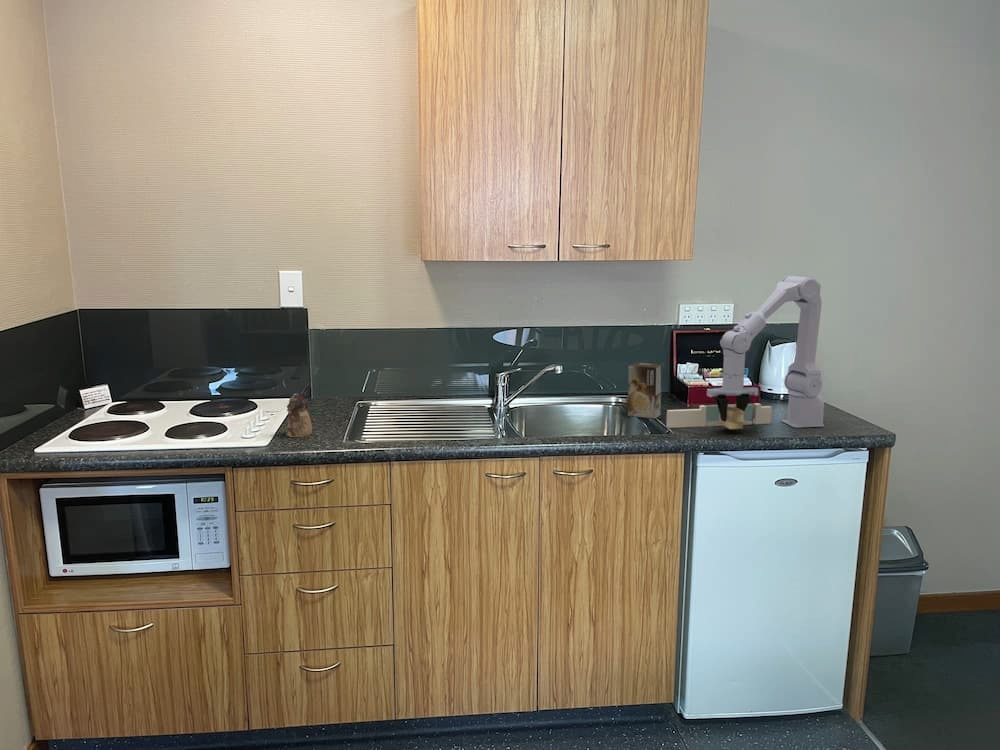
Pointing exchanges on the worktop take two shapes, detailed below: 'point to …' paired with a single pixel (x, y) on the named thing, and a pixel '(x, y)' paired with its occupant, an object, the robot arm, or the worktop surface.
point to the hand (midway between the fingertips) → (730, 420)
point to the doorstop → (733, 418)
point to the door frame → (699, 420)
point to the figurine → (298, 417)
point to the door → (713, 410)
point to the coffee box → (644, 390)
